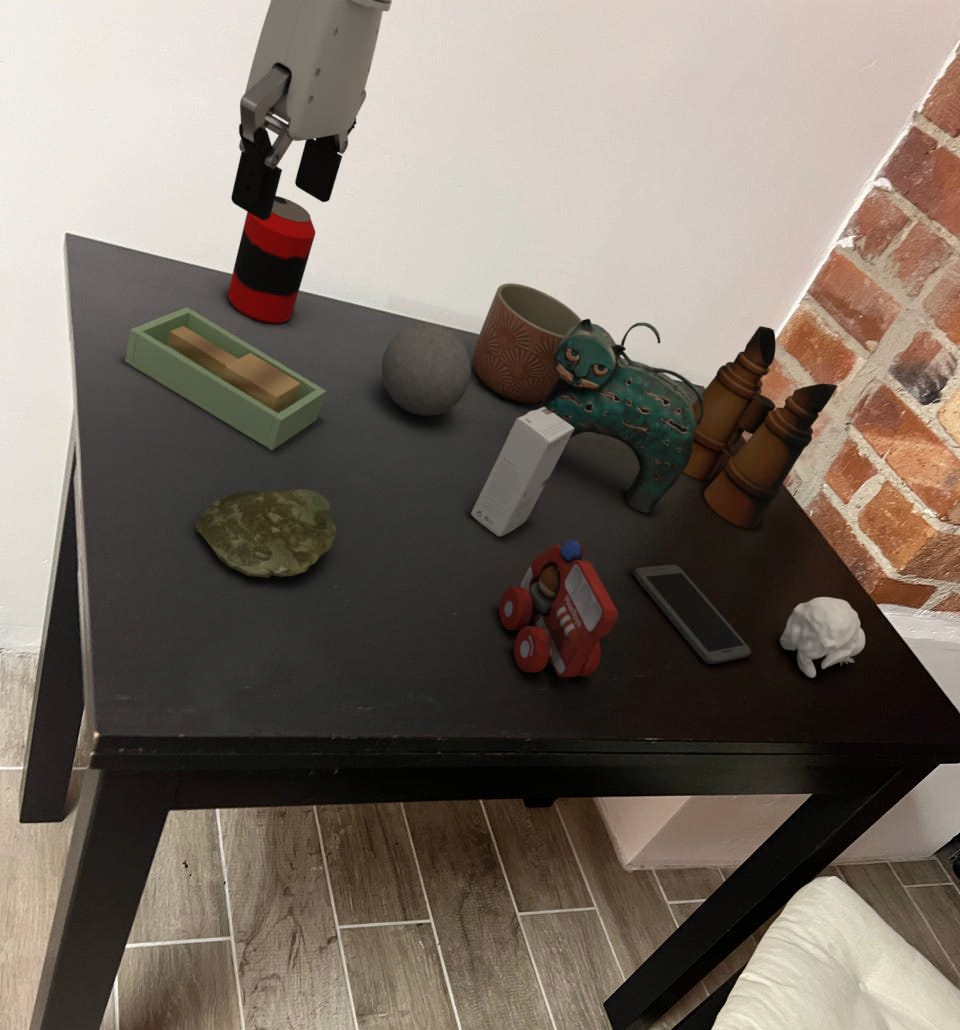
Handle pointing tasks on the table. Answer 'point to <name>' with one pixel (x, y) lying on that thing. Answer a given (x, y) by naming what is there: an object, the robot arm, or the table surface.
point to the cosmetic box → (521, 470)
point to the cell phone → (692, 614)
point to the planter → (521, 342)
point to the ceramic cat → (625, 406)
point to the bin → (219, 379)
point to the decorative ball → (426, 369)
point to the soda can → (272, 262)
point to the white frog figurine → (823, 633)
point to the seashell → (269, 531)
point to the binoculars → (774, 437)
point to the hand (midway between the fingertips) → (282, 202)
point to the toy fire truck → (559, 613)
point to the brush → (238, 370)
